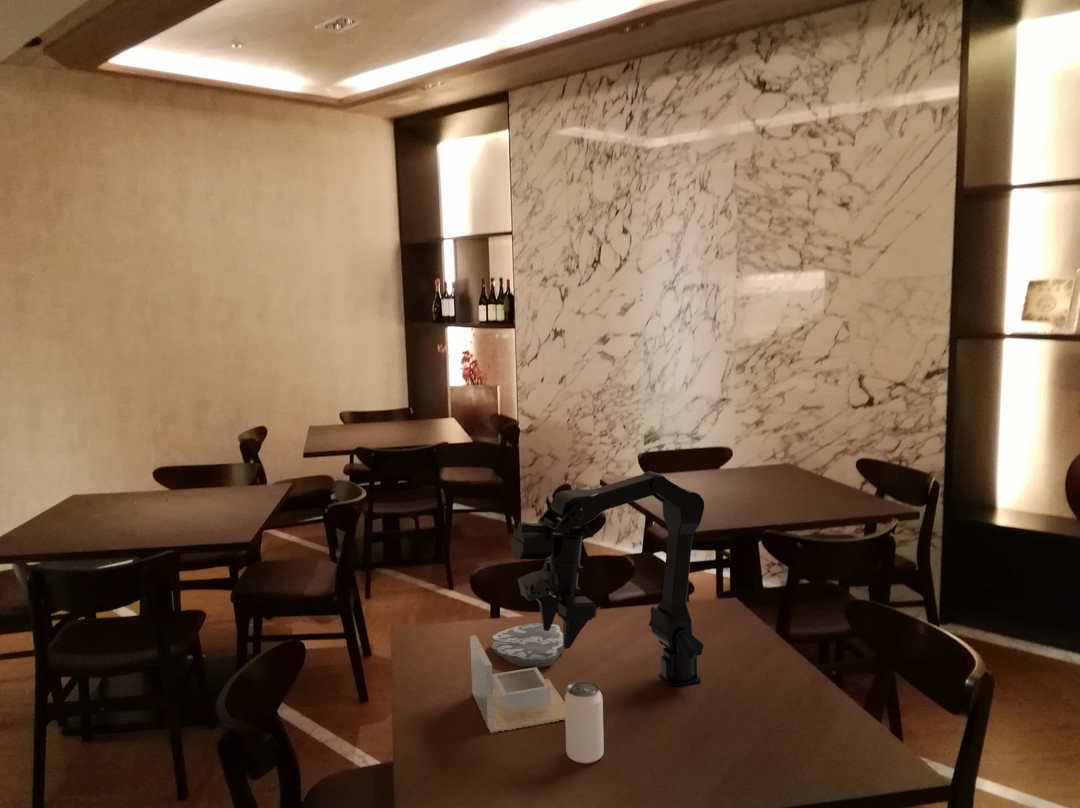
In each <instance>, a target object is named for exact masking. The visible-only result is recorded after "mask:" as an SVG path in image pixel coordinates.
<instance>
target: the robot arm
mask: <svg viewBox="0 0 1080 808" xmlns="http://www.w3.org/2000/svg"><path fill="white" fill-rule="evenodd" d="M648 497H649V498H650V497H653V498H654V499H656V500H658V501H659V502H661V503H662V516H663V519H664V521H665V525H666V528H667V533H668V535H667V544H666V556H665V566H664V578H663V587H662V597H661V601H660V602H659V604H658V605H657V607H656V606H652V607H650V620H649V623H648V626H649V627H650V630H651V633H652V634H653V636H654V637H655V638H656V639H657V641H658V642H659V643H658V644H660V645H662V646H663V648H662V656H660V670H659V674H660V676H662V677H663V679H664V680H666V682H668V683H669V684H670V685H671V686H672V687H678V686H685V685H691V684H696V683H701V682H702V678H701V677H700V676H699V675H698V656H701V655H702V653H703V649H704V644H703V643H702V642H701V641H700V640H699V639H698V638H696V637H695V636H694V635H693V623H692V622H693V621H692V617H691V615H690V612H689V611H690V610H689V608H688V605H687V604H688V603H687V599H688V589H689V588H688V587H689V580H690V568H691V567H690V566H691V559H692V558H691V557H692V555H691V554H692V545H693V538H694V537H693V536H694V534H695V532H696V531H697V529H699V528H698V527H699V526H700V525H701V523H702V519H703V515H704V511H705V500H704V498H702V496H701V495H700V493H699V494H698V493H697V492H695V491H692V490H689V489H686V488H683V487H680V486H679V485H677V484H675V483H673V482H672V481H671V480H669V479H667V478H666V477H665V475H663V474H660V473H658V472H654V471H650V470H649V471H646V472H644V473H642V474H640V475H635V476H633V477H629V478H626V479H623V480H620V481H617V482H614V483H611V484H610V483H609V484H606V485H603V486H599V487H597V488H593V489H592V488H591V489H586V488H585V489H583V488H580V489H579V488H578V489H568V490H561V491H559V492H557V493H556V494H555V495H554V497H553V498H552V501H551V505H550V506H549V507H548V508H547V509H546V510H545V512H544V513H543V514H542V515H541V516H540V518H539V519H538V522H537V523H534V522H533V523H532V522H526V521H522V522H521V521H519V522H518V523H517V528H516V529H515V530H514V532H513V535H512V536H511V541H510V543H511V545H510V547H511V548H510V549H511V553H512V556H513V559H514V560H516V561H522V560H524V561H527V560H528V561H530V560H531V561H533V560H538V561H539V560H545V562H544V563H543V568H542V569H540V570H536V571H533V572H531V573H528V574H525V575H523V576H520V577H519V578H518V579H517V582H518V586H519V589H520V590H519V591H520V594H521V597H522V596H523V597H524V598H525V599H526V600H527V601H529V602H533V601H535V600H536V601H538V605H539V609H540V610H539V611H540V617H541V618H540V619H541V624H543V629H544V631H549V630H550V627H551V625H552V624H553V623H554V620H555V617H556V615H557V616H558V618H560V619H561V621H562V633H563V646H564V648H565V650H567V649H570V648H571V647H572V645H573V644H574V642H575V640H576V639H577V637H578V636H579V634H580V633H581V632H582V629H583V628H584V627H585V625H587V623H588V622H589V621H592V619H595V618H596V617H597V611H598V609H597V608H598V606H597V605H596V604H595V603H594V601H592V600H591V599H589V598H588V597H586V595H585V596H575V595H581V593H582V588H581V587H579V586H578V581H579V575H580V574H583V573H584V566H582V565H580V563H581V555H582V544H583V538H593V537H594V533H593V532H592V531H591V530H590V529H589V527H588V526H587V524H588V523H590V522H592V521H593V520H595V519H596V518H597V517H598V516H599V515H600V514H601V513H603V512H605V511H607V510H611V509H614V508H617V507H620V506H623V505H627V504H630V503H633V502H637V501H639V500H642V499H645V498H648ZM557 520H559V521H557ZM548 558H549V560H547V559H548ZM557 611H558V613H557Z"/></svg>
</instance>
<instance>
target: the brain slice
mask: <svg viewBox="0 0 1080 808" xmlns="http://www.w3.org/2000/svg"><path fill="white" fill-rule="evenodd" d="M491 639H492V640H493V642H492V643H491V644H490V648H491V650H492V651H493V652H494V653H495V654H496V655H498V656H500V657H501V658H502V659H504V661H506V660H507V661H506V662H510V663H511V664H512V663H513V664H512V665H515V664H516V665H515V666H517V665H519V667H522V666H529V667H533V666H534V667H533V668H535V667H538V668H537V669H541V668H540V667H542V668H544V667H546V668H547V666H548V667H550V666H553V665H554V663H555V662H556V660H558V658H559V657H560V655H561V654H562V653H564V651H565V650H566V649H565V648H564V646H563V631H561V627H560V625H559V624H553V623H552V625H551V627H550V630H549V631H544V629H543V624H542V622H541V623H540V622H539V623H538V622H537V623H536V622H535V623H524V624H521V625H516V626H514V627H510V628H506V629H503V630H502V631H501V630H500V631H498V632H496V633H495V634H493V635H492V636H491Z"/></svg>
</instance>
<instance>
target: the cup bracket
mask: <svg viewBox="0 0 1080 808" xmlns="http://www.w3.org/2000/svg"><path fill="white" fill-rule="evenodd" d="M469 640H470V643H469V646H470V664H471V665H470V667H471V670H470V671H471V687H472V688H471V689H472V690H471V691H472V696H473V698H474V700H475V702H477V703H476V704H477V706H478V707H477V708H478V710H479V712H480V711H481V712H480V713H481V716H482V718H483V721H484V720H485V721H484V724H485V725H486V727H487V730H488V729H489V730H488V732H489V731H490V732H489V734H490V733H492V734H494V733H493V732H497V733H499V732H498V731H502V732H505V731H504V730H508V731H513V730H518V729H517V728H519V729H523V727H524V728H529V727H528V726H530V727H534V725H535V726H540V725H539V724H541V725H545V723H546V724H551V723H550V722H552V723H555V722H556V721H557V722H560V721H559V720H563V721H565V700H563V697H562V696H561V695H560V693H559V692H558V691H557V689H556V688H555V686H554V684H553V683H552V681H551V680H550V679H549V678H544V676H543V675H542V673H541V672H540V669H539V668H537V667H530V668H529V667H528V668H524V669H517V670H511V671H506V672H503V671H502V672H498V673H497V672H496V673H493V664H492V662H491V660H490V659H489V657H488V655H487V653H486V651H485V649H484V647H483V645H482V644H481V642H480V640H479V638H478V637H477V635H476V634H475V635H474V634H473V635H470V636H469ZM512 729H513V730H512Z"/></svg>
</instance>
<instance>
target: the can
mask: <svg viewBox="0 0 1080 808" xmlns="http://www.w3.org/2000/svg"><path fill="white" fill-rule="evenodd" d="M565 693H566V694H565V695H564V702H565V720H564V721H565V750H566V755H567V757H568V758H569V759H570V760H571V761H573V762H574V763H577V764H582V765H583V764H584V765H585V764H586V765H587V764H588V765H589V764H593V763H597V762H598V761H600V759H601V758H602V757H603V755H604V749H605V748H604V746H605V745H604V706H603V699H604V698H603V694H602V693H601V688H600V685H599V684H597V683H595V682H594V681H589V680H578V681H573V682H571V683H570V684H569V685H567V687H566V692H565Z"/></svg>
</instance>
